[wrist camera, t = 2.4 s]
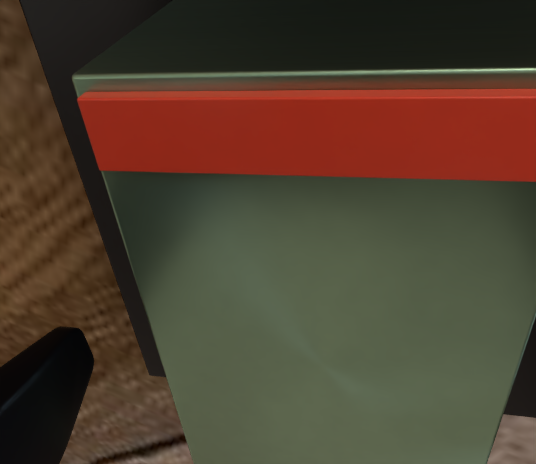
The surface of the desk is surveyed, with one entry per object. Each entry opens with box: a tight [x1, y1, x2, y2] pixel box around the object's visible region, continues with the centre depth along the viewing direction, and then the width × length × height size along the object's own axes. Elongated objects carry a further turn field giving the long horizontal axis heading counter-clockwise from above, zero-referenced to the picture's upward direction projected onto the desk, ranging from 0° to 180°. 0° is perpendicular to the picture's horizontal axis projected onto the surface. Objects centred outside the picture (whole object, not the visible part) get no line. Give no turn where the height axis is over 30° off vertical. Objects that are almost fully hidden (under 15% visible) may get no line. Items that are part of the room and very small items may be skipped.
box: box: [72, 0, 536, 464], centre depth 10 cm, size 10×6×5 cm, turn 5°
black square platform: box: [19, 0, 536, 418], centre depth 13 cm, size 16×14×2 cm
